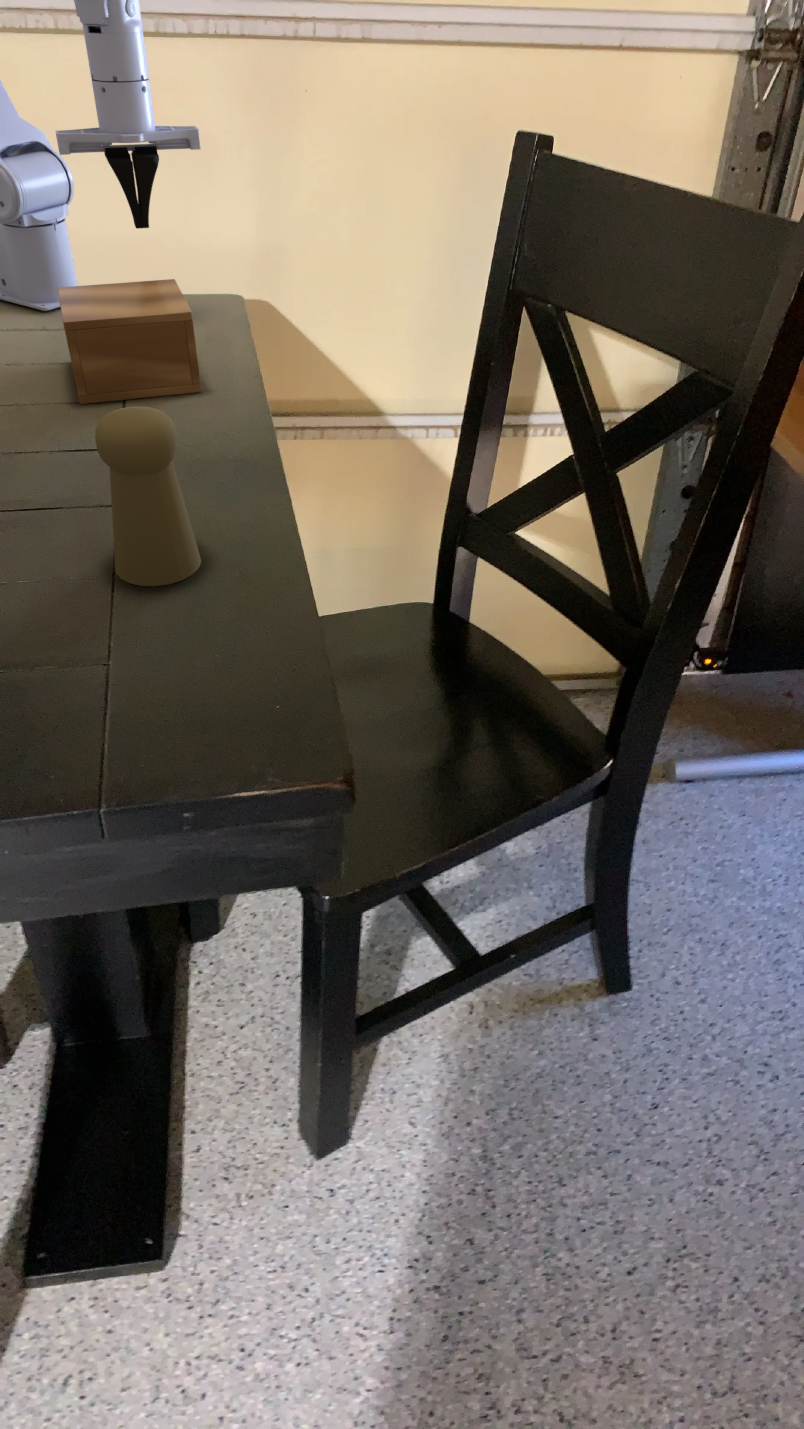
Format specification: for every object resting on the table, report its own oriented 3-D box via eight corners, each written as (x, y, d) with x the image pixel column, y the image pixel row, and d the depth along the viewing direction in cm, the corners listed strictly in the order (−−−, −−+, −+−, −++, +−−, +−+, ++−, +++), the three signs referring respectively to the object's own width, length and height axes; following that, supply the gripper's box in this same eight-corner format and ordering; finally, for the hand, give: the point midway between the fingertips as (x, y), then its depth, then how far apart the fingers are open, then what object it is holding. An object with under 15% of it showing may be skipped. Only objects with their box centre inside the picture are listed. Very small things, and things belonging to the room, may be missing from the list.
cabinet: (72, 364, 99) (57, 287, 94) (184, 353, 102) (174, 278, 97) (80, 404, 91) (63, 321, 86) (201, 391, 94) (191, 311, 89)
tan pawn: (106, 553, 69) (75, 404, 62) (188, 536, 71) (167, 390, 64) (125, 593, 65) (93, 438, 58) (211, 575, 67) (191, 422, 60)
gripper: (47, 85, 92) (76, 238, 100) (198, 81, 95) (213, 230, 104) (44, 77, 97) (72, 223, 106) (187, 74, 101) (203, 216, 109)
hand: (141, 226), depth 105 cm, fingers closed
